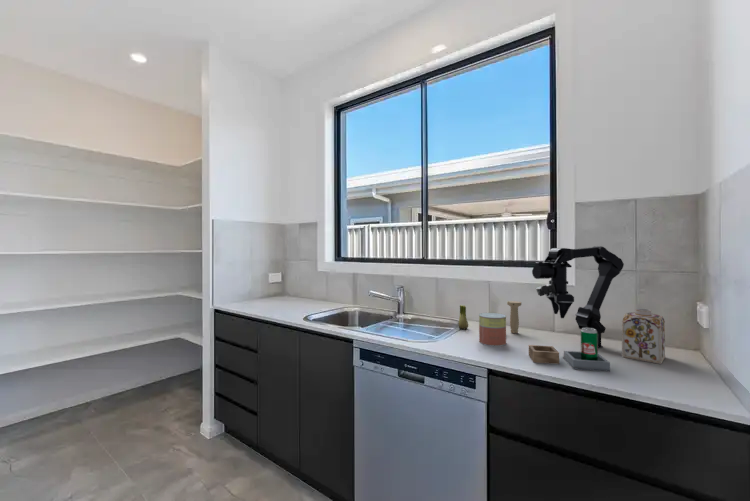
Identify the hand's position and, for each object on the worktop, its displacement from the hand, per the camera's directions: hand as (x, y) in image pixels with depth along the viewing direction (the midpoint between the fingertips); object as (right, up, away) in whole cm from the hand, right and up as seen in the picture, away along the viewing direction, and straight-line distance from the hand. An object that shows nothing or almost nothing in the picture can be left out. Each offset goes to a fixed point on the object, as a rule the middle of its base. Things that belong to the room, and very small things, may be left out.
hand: (558, 316), depth 141 cm
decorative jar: (+25, -13, -13) cm, 31 cm away
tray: (-2, -13, -21) cm, 25 cm away
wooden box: (-14, -13, -15) cm, 24 cm away
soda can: (-1, -13, -22) cm, 25 cm away
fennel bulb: (-31, -13, +34) cm, 48 cm away
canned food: (-25, -13, +8) cm, 29 cm away
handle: (-8, -13, +25) cm, 29 cm away
